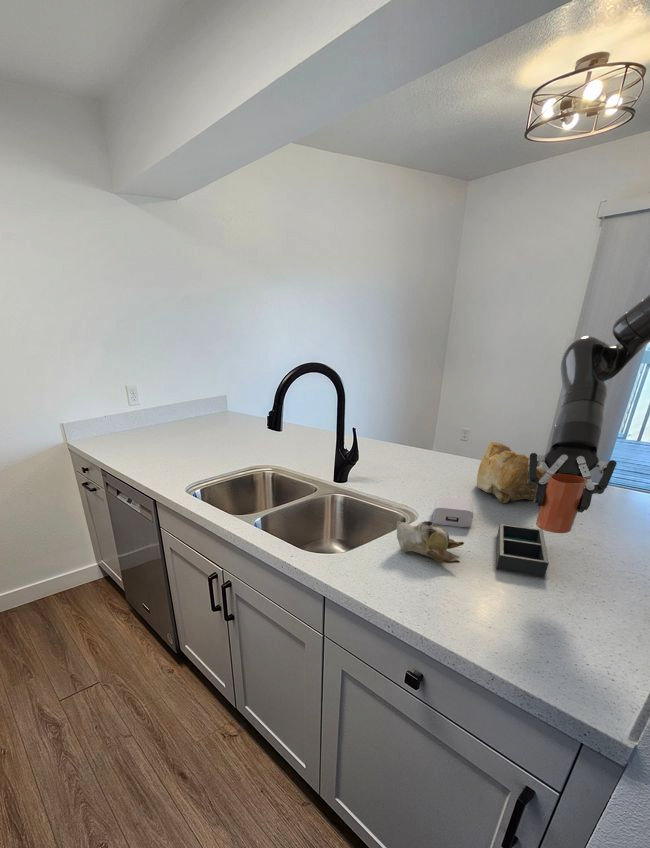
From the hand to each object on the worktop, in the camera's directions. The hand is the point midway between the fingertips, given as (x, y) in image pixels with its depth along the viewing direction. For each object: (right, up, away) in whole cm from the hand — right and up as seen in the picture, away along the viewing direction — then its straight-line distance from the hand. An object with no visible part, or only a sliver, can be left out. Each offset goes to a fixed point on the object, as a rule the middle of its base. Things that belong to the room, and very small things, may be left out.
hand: (560, 507), depth 82 cm
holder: (+3, -10, +18) cm, 20 cm away
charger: (-2, +1, +39) cm, 39 cm away
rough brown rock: (+20, +7, +49) cm, 53 cm away
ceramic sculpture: (-17, -10, +20) cm, 28 cm away
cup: (+1, -4, +3) cm, 5 cm away
